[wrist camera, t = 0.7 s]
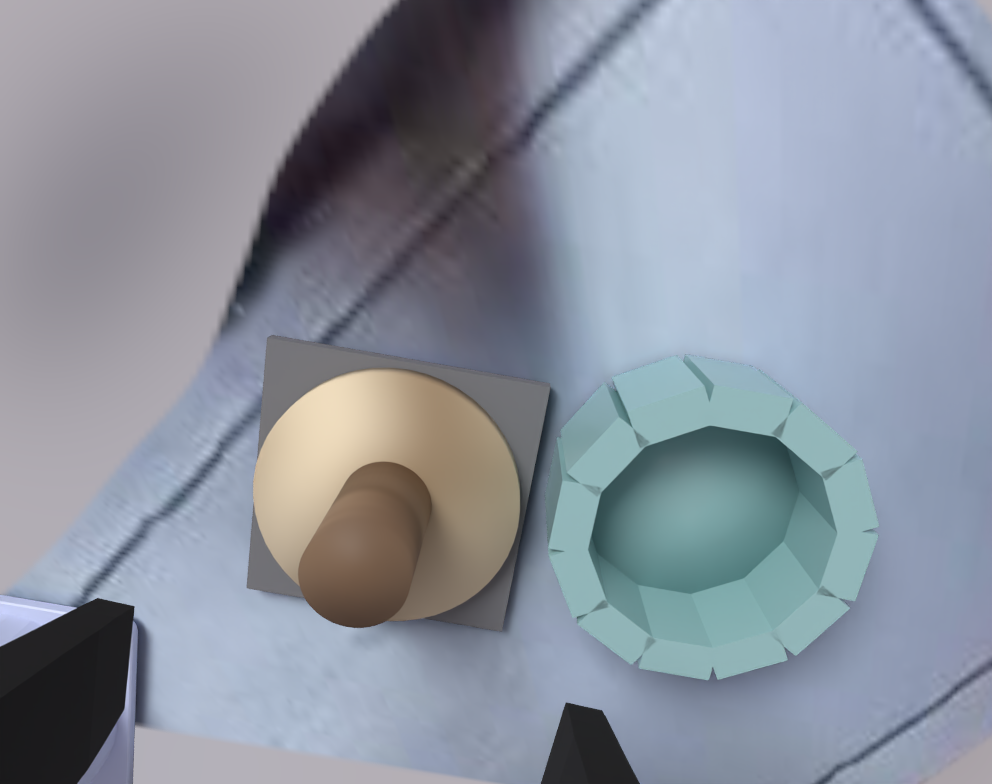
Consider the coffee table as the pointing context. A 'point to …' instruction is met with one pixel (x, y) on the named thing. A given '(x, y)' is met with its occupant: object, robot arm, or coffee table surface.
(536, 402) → the mat
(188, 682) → the coffee table surface
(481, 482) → the lid
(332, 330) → the coffee table surface
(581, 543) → the bowl
